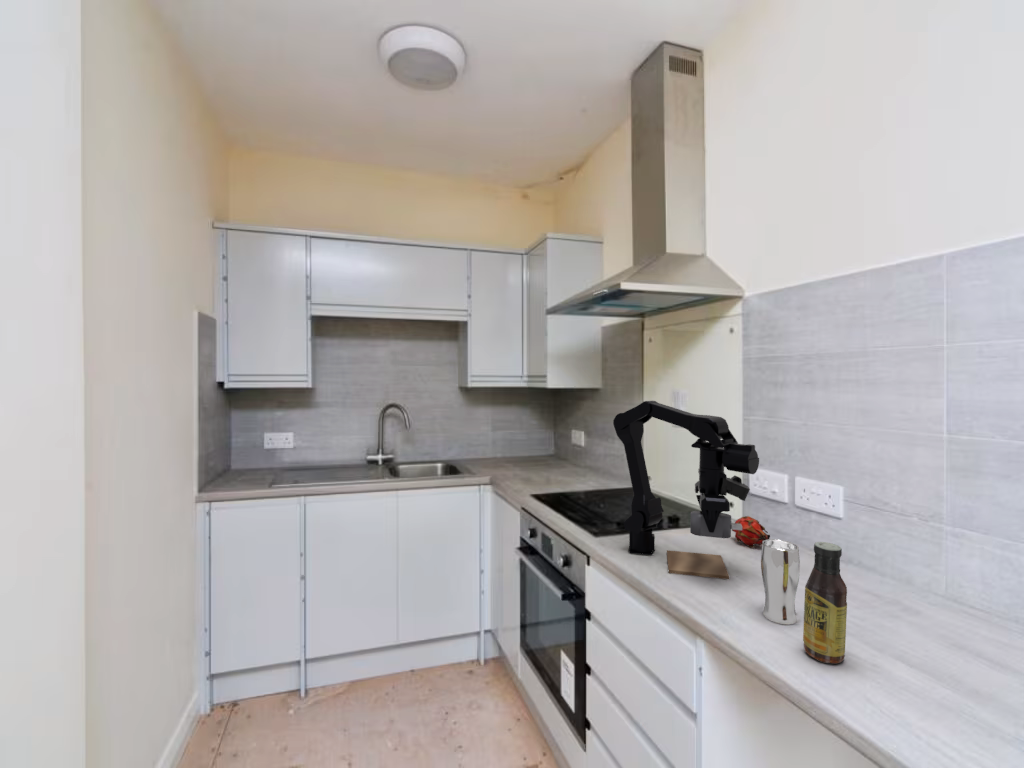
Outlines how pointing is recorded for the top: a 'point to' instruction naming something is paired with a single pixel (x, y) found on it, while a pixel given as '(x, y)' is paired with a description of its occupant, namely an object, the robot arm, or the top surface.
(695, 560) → the board
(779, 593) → the beer glass
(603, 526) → the top surface
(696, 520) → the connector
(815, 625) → the sauce bottle
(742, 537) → the dragon fruit
